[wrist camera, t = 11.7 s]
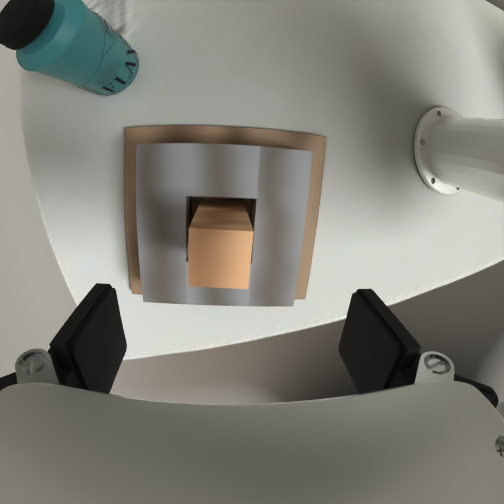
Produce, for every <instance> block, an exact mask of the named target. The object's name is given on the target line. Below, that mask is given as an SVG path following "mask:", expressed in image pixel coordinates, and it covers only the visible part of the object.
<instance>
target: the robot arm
mask: <svg viewBox="0 0 504 504" xmlns="http://www.w3.org/2000/svg"><path fill="white" fill-rule="evenodd" d="M414 154H415V160H416V164H417V167H418V170H419V172H420V175H421V177H422V178H423V180H424V181H425V183H426V184H427V185H428V186H429V187H430V188H431V189H432V190H434V191H435V192H438V193H440V194H444V195H453V194H456V193H458V192H460V191H461V190H462V189H465V190H468V191H471V192H474V193H478V194H481V195H484V196H487V197H490V198H493V199H496V200H498V201H501V202H504V120H503V119H484V118H462V116H460V115H459V114H458V113H457V112H456V111H454V110H452V109H450V108H447V107H438V108H433V109H431V110H429V111H428V112H426V113H425V114H424V115H423V117H422V118H421V119H420V121H419V124H418V126H417V129H416V132H415V139H414ZM126 348H127V344H126V339H125V334H124V330H123V325H122V321H121V316H120V311H119V305H118V300H117V294H116V290H115V288H112V287H111V285H110V284H100V283H97V284H95V285H94V287H93V288H92V289H91V290H90V292H89V293H88V294H87V295H86V297H85V298H84V299H83V300H82V302H81V303H80V304H79V305H78V307H77V308H76V309H75V310H74V312H73V313H72V314H71V316H70V317H69V318H68V320H67V321H66V322H65V323H64V325H63V326H62V328H61V329H60V330H59V332H58V333H57V334H56V336H55V337H54V339H53V340H52V341H51V343H50V349H49V350H48V352H47V351H45V350H43V349H31V350H28V351H26V352H24V353H23V354H21V355H20V356H19V358H18V359H17V361H16V363H15V370H16V372H14V373H12V374H9V375H7V376H4V377H1V378H0V504H504V402H501V403H500V404H498V397H497V394H496V393H495V392H494V390H493V389H492V388H491V387H489V386H486V385H484V384H481V383H478V382H475V381H472V380H469V379H466V378H464V377H461V376H458V375H455V374H454V365H453V363H452V361H451V360H450V359H449V358H448V357H446V356H445V355H443V354H441V353H439V352H426V353H424V354H423V355H421V354H420V353H419V351H420V349H421V347H420V345H419V344H418V343H417V341H416V340H415V339H414V338H413V337H412V335H411V334H410V333H409V332H408V331H407V329H406V328H405V327H404V326H403V325H402V323H401V322H400V321H399V320H398V319H397V317H396V316H395V315H394V314H393V313H392V312H391V311H390V310H389V308H388V307H387V306H386V305H385V304H384V302H383V301H382V300H381V299H380V298H379V297H378V296H377V294H376V293H375V292H374V291H373V290H372V289H358V290H357V291H356V293H353V294H352V297H351V301H350V305H349V309H348V313H347V317H346V321H345V325H344V329H343V333H342V337H341V340H340V343H339V353H340V355H341V357H342V360H343V362H344V364H345V365H346V368H347V370H348V372H349V374H350V376H351V378H352V380H353V382H354V385H355V387H356V389H357V391H358V393H359V394H357V395H350V396H344V397H336V398H328V399H320V400H310V401H298V402H286V403H264V404H204V403H185V402H170V401H158V400H149V399H141V398H133V397H126V396H119V395H112V394H109V393H110V390H111V388H112V385H113V382H114V380H115V377H116V375H117V372H118V370H119V367H120V364H121V362H122V360H123V357H124V355H125V352H126Z"/></svg>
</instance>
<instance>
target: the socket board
mask: <svg viewBox="0 0 504 504" xmlns="http://www.w3.org/2000/svg"><path fill="white" fill-rule="evenodd" d="M325 149H326V137H325V136H318V135H312V134H304V133H296V132H288V131H279V130H268V129H257V128H243V127H224V126H147V127H128V128H126V131H125V158H124V194H125V222H126V239H127V252H128V263H129V273H130V281H131V290H132V294H141V295H143V302H154V303H172V304H193V305H221V306H293V304H294V299H305V298H306V292H307V286H308V281H309V274H310V268H311V262H312V255H313V249H314V242H315V235H316V228H317V220H318V213H319V205H320V196H321V188H322V179H323V169H324V159H325ZM202 198H219V199H236V200H243V201H244V204H245V207H246V210H247V213H248V216H249V219H250V222H251V225H252V228H253V231H254V233H253V244H252V254H251V265H250V276H249V286H248V289H234V288H212V287H193V286H188V249H189V227H190V224H191V222H192V220H193V217H194V215H195V213H196V211H197V208H198V206H199V204H200V202H201V200H202Z"/></svg>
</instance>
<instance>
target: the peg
mask: <svg viewBox="0 0 504 504" xmlns="http://www.w3.org/2000/svg"><path fill="white" fill-rule="evenodd" d="M253 233H254V231H253V228H252V225H251V222H250V219H249V216H248V213H247V210H246V207H245V204H244V201H243V200H236V199H219V198H202V200H201V202H200V204H199V206H198V208H197V211H196V213H195V215H194V217H193V220H192V222H191V224H190V227H189V249H188V286H193V287H212V288H234V289H248V286H249V276H250V265H251V254H252V244H253Z"/></svg>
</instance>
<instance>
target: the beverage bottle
mask: <svg viewBox="0 0 504 504" xmlns="http://www.w3.org/2000/svg"><path fill="white" fill-rule="evenodd" d="M93 10H94V9H93ZM97 15H98V14H97V13H96V11H95V12H93V11H91V10H90V9H89V8H88V7H86V6H85V4H84V3H83V2H82V1H81V0H10V1H9V2H8V3H7V4H6V6H5V7H4V8H3V10H2V11H1V12H0V44H2V45H5V46H6V47H7V48H10V49H12V50H16V55H17V60H18V63H19V64H20V66H21V67H22V68H24V69H25V70H28V71H36V72H39V73H42V74H46V75H49V76H52V77H55V78H58V79H61V80H64V81H67V82H70V83H72V84H75V85H77V86H78V87H83V88H85V89H83V90H86V89H88V90H91V91H92V92H95V93H98V94H97V95H100V94H102V95H107V96H108V95H109V96H110V95H111V94H113V95H114V94H115V93H116V94H117V93H119V92H121V91H122V90H124V89H125V88H126V87H128V86H129V85H130V84H131V82H132V81H133V80H134V78H135V76H136V74H137V71H138V67H139V65H138V57H137V55H138V54H137V53H135V52H136V51H134V50H133V49H132V48H131V47H132V46H131V47H130V46H129V45H130V44H129V43H126V41H125V40H124V39H123V38H122V37H121V35H120V34H118V35H119V36H118V35H117V33H118V32H117V33H115V32H114V31H113V29H111V28H112V26H111V28H110V27H109V26H110V25H109V26H108V25H107V24H106V23H105V22H106V21H105V20H104V19H102V17H101V16H99V15H98V16H99V17H98V16H97ZM100 18H101V19H100ZM103 20H104V21H103ZM108 24H109V23H108ZM115 31H116V30H115ZM121 38H122V39H121ZM128 44H129V45H128ZM136 54H137V55H136ZM88 90H86V91H88ZM91 91H90V92H91Z"/></svg>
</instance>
